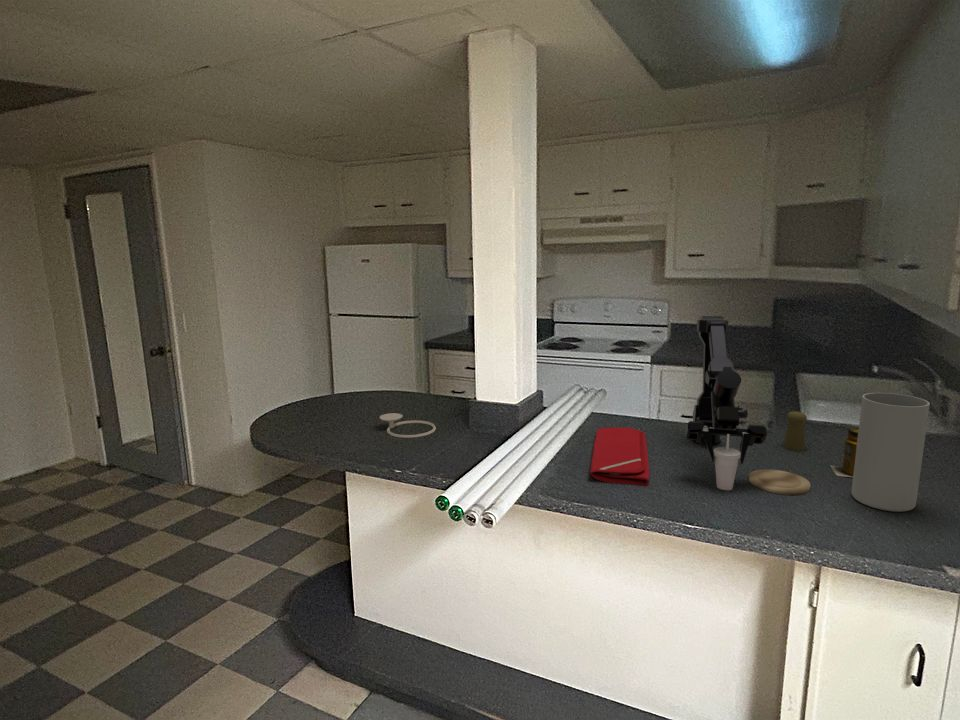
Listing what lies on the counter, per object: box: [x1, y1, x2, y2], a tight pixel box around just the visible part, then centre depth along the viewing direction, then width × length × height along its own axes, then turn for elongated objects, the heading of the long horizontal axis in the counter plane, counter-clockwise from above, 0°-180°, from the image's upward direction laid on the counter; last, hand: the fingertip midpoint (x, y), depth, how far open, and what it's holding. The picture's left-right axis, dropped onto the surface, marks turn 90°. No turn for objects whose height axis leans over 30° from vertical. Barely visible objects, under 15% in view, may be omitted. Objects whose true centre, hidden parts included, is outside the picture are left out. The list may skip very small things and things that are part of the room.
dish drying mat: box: [589, 426, 650, 487], centre depth 167 cm, size 16×41×4 cm, turn 166°
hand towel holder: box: [379, 412, 437, 439], centre depth 195 cm, size 17×4×20 cm
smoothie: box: [713, 434, 741, 491], centre depth 142 cm, size 6×6×14 cm
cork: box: [782, 410, 808, 452], centre depth 170 cm, size 6×6×11 cm
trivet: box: [748, 469, 811, 496], centre depth 145 cm, size 14×14×1 cm
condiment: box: [829, 427, 859, 478], centre depth 150 cm, size 7×8×12 cm
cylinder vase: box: [851, 392, 931, 513], centre depth 132 cm, size 12×12×25 cm
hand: (727, 462), depth 141 cm, fingers closed on smoothie, 6 cm apart
